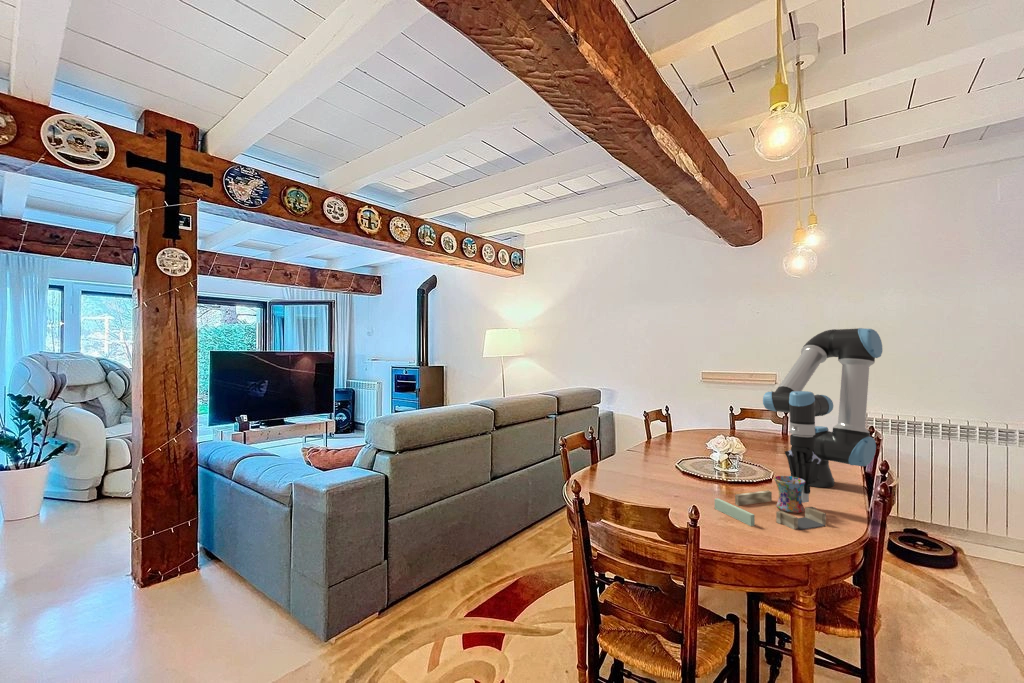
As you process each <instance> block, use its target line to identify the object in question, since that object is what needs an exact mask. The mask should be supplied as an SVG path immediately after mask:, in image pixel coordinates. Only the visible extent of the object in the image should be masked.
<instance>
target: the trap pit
mask: <svg viewBox="0 0 1024 683" xmlns="http://www.w3.org/2000/svg"><path fill="white" fill-rule="evenodd" d="M797 518H798V529H797V530H800V531H803V530H804V531H805V530H809V529H810V530H811V529H816V528H822V527H826V525H823V524H821V523H818V522H816V521H813V520H811V519H808V518H806V517H805V516H804V517H797Z"/></svg>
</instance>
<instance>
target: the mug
mask: <svg viewBox="0 0 1024 683" xmlns="http://www.w3.org/2000/svg"><path fill="white" fill-rule="evenodd" d="M773 479H774V481H775V483H776V487H777V490H778V498H777V499H778V500H777V503H776V505H775V507H776V508H777V509H779V510H780V511H783V512H785V513H795V514H796V513H797V514H798V513H803V512H805V507H804V505H803V504H804V503H802V499H801V494H802V489H803V486H804V484H805V480H803V479H801V478H797V477H792V476H791V475H776V476H774V478H773Z"/></svg>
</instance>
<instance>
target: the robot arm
mask: <svg viewBox="0 0 1024 683" xmlns="http://www.w3.org/2000/svg"><path fill="white" fill-rule="evenodd" d="M882 354H883V343H882V339H881V337H880V334H879V333H878V332H877V331H876V330H875V329H872V328H863V327H859V328H844V329H842V328H841V329H839V328H838V329H837V328H836V329H834V328H833V329H827V330H824V331H822V332H819V333H818V334H816V335H815V336H813V337H811V338H810V339H809V340H808V341H807V342H806V343H805V344H804V345H803V346H802V348H801V350H800V355H799V357H798V358H797V360H796V361H795V363H794V364H793V365H792V366H791V368H790V369H789V371H788V373H786V376H784V378H783V380H782V381H781V383H780V384H779V385H778V387H777V388H776V390H775V391H772V390H771V391H767V392H765V393H764V394H763V396H762V405H763V406H764V408H765V409H766V410H768V411H772V412H776V413H789V433H790V436H789V441H790V442H789V444H790V446H791V447H790V450H786V451H784V454H785V457H786V459H787V462H788V467H789V472H790V476H792V477H797V478H801V479H803V480H805V484H804V486H803V489H802V494H801V499H802V504H805V503H810V496H809V495H810V494H811V487H815V488H831V487H834V486H835V478H834V477H833V474H832V470H831V468H830V463H829V462H835V463H840V464H845V465H846V464H847V465H849V466H856V467H857V466H858V467H866V466H868V465H870V464H871V462H872V461H873V459H874V458H875V455H876V452H877V451H876V450H877V444H876V443H877V442H876V440H875V438H873V437H872V436H871V435H870V433H871V432H870V431H869V430H868V429H867V427H866V419H867V408H868V407H867V406H868V404H867V403H868V392H869V377H870V376H869V375H870V367H871V366H873V365H874V364H875V361H876V359H878V358H880V357H881V356H882ZM828 358H837V361H838V362H839V363H840V364H841V380H840V392H839V404H838V405H839V406H838V418H837V419H838V420H837V423H836V424H835V425H834V426H832V431H830V430H829V427H827V426H819V425H818V426H817V425H816V417H821V416H822V417H823V416H825V415H828V414H831V412H833V410H834V401H833V400H832V399H831V398H830V397H829V396H828V395H825V394H815V393H813V392H811V391H806V390H804V388H805V386H807V385H808V382H809V381H810V379H811V378H812V376H813V375H814V373H815V372H816V370H817V369H818V368H819V366H820V364H822V363H824V362H826V360H828ZM803 390H804V391H803Z"/></svg>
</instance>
